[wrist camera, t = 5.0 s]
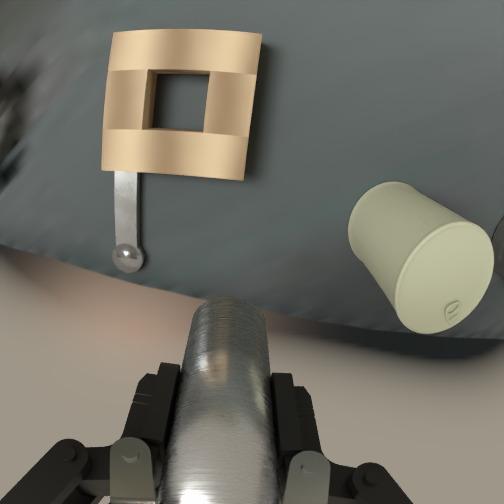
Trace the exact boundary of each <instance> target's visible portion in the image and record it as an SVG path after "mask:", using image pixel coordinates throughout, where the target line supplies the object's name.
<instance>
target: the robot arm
mask: <svg viewBox="0 0 504 504" xmlns="http://www.w3.org/2000/svg"><path fill="white" fill-rule="evenodd" d="M492 247H493V251H494V267H493V269H494V270H495V271H496V272H497V273H499V274H500V275H501V276H502V277H503V278H504V218H503V219H502V220H501V222H500V223H499V225H498V227H497V229H496V231H495V233H494V236H493V239H492ZM180 373H181V372H180V365H178V364H170V363H163V362H161V364H160V367H159V370H158V373H157V375H155V374H148V373H147V374H146V375H145V376H144V377H143V378H142V379H141V380H140V381H139V383H138V386H137V389H136V392H135V395H134V399H133V403H132V405H131V408H130V411H129V414H128V418H127V421H126V424H125V428H124V431H123V434H122V436H121V438H120V439H119V440H117V441H116V442H115V443H114V444H112V445H110V446H106V447H86V448H85V446H84V445H83V444H82V443H80V442H79V441H77V440H74V439H64V440H61V441H59V442H57V443H56V444H55V445H54V446H53V447H52V448H51V449H50V450H49V451H48V452H47V453H46V454H45V455H44V456H43V457H42V458H41V459H40V460H39V461H38V462H37V463H36V464H35V465H34V467H32V468H31V469H30V470H29V472H28V473H27V474H26V475H25V476H24V477H23V478H22V479H21V480H20V481H19V482H18V483H17V484H16V485H15V486H14V487H13V488H12V489H11V490H10V491H9V492H8V493H7V494H6V495H5V496H4V497H3V498H2V499H1V500H0V504H98V503H99V502H100V501H101V499H102V498H103V497H104V496H110V503H109V504H157V497H158V490H159V484H160V478H161V472H162V466H163V461H164V455H165V450H166V445H167V439H168V434H169V428H170V423H171V418H172V413H173V407H174V402H175V397H176V392H177V388H178V383H179V378H180ZM271 386H272V398H273V409H274V421H275V432H276V444H277V456H278V466H279V478H280V490H281V504H413V503H412V502H411V500H410V499H409V498H408V497H407V495H406V494H405V493H404V492H403V491H402V489H401V488H400V487H399V486H398V484H397V483H396V482H395V480H394V479H393V478H392V477H391V476H390V474H389V473H388V472H387V470H386V469H385V468H384V467H383V466H381V465H379V464H377V463H371V462H370V463H364V464H362V465H360V466H358V467H357V468H353V467H348V466H342V465H338V464H335V463H333V462H331V461H329V460H328V459H327V458H326V457H325V456H324V454H323V453H322V451H321V446H320V441H319V436H318V431H317V426H316V420H315V418H314V416H315V415H314V410H313V405H312V400H311V396H310V395H309V393H308V392H307V390H306V389H305V388H304V386H301V387H300V386H294V384H293V378H292V374H291V373H272V375H271Z"/></svg>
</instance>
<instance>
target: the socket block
mask: <svg viewBox="0 0 504 504" xmlns="http://www.w3.org/2000/svg"><path fill="white" fill-rule="evenodd" d="M261 40H262V34H257V33H247V32H237V31H223V30H203V29H157V30H137V31H124V32H114V35H113V40H112V47H111V53H110V60H109V68H108V76H107V85H106V95H105V106H104V120H103V139H102V170H104V171H128V172H146V173H162V174H176V175H189V176H200V177H211V178H222V179H231V180H241V181H243V179H244V171H245V162H246V154H247V146H248V138H249V130H250V122H251V114H252V106H253V99H254V91H255V84H256V76H257V69H258V61H259V54H260V47H261ZM158 74H196V75H210V78H209V86H208V94H207V103H206V112H205V121H204V130H203V131H201V130H186V129H167V128H152V125H153V113H154V103H155V93H156V84H157V76H158Z"/></svg>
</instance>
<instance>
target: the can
mask: <svg viewBox="0 0 504 504" xmlns="http://www.w3.org/2000/svg"><path fill="white" fill-rule="evenodd" d="M348 237H349V242H350V245H351V248H352V250H353V252H354V253H355V255H356V256H357V257H358V258H359V259H360V260H361V261H362V262H363V263H364V264H365V266H366V267H367V269H368V270H369V271H370V273H371V274H372V276H373V277H374V278H375V280H376V281H377V283H378V284H379V286H380V287H381V289H382V290H383V292H384V293H385V295H386V296H387V298H388V299H389V301H390V303H391V304H392V306H393V307H394V309H395V311H396V313H397V315H398V317H399V319H400V321H401V322H402V323H403V324H404V325H405V326H406V327H407V328H409V329H410V330H412V331H414V332H417V333H423V334H430V333H437V332H441V331H444V330H446V329H448V328H450V327H452V326H454V325H456V324H457V323H459V322H460V321H462V320H463V319H464V318H465V317H466V316H467V315H469V314H470V313H471V312H472V310H473V309H474V308H475V307H476V306H477V304H478V303H479V302H480V300H481V299H482V297H483V295H484V294H485V292H486V290H487V288H488V285H489V283H490V280H491V277H492V272H493V267H494V251H493V247H492V243H491V241H490V238H489V237H488V235H487V234H486V232H485V231H484V230H483V229H482V228H481V227H479V226H478V225H476V224H474V223H471V222H469V221H468V220H466V219H464V218H462V217H461V216H459V215H457V214H455V213H454V212H452V211H450V210H449V209H447V208H445V207H444V206H442V205H440V204H438V203H437V202H435V201H433V200H431V199H430V198H428V197H426V196H424V195H423V194H421V193H419V192H418V191H417V190H416V189H414V188H413V187H411V186H410V185H407V184H405V183H401V182H386V183H382V184H379V185H377V186H375V187H373V188H372V189H370V190H368V191H367V192H366V193H365V194H364V195H363V196H362V197H361V198H360V199H359V201H358V202H357V203H356V205H355V207H354V209H353V211H352V213H351V216H350V220H349V225H348Z"/></svg>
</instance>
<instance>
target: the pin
mask: <svg viewBox="0 0 504 504" xmlns="http://www.w3.org/2000/svg"><path fill="white" fill-rule="evenodd" d="M157 504H281V490H280V478H279V466H278V456H277V444H276V432H275V421H274V409H273V398H272V386H271V374H270V363H269V351H268V340H267V329H266V322H265V318H264V316H263V314H262V312H261V311H260V310H259V309H258V308H257V307H256V306H255V305H253V304H252V303H250V302H249V301H247V300H244V299H241V298H237V297H228V296H226V297H218V298H214V299H211V300H209V301H207V302H205V303H203V304H202V305H201V306H200V307H199V308H198V309H197V310H196V312H195V313H194V315H193V318H192V322H191V327H190V332H189V336H188V340H187V345H186V349H185V354H184V358H183V363H182V368H181V373H180V378H179V383H178V388H177V392H176V397H175V402H174V407H173V413H172V418H171V423H170V428H169V434H168V439H167V445H166V450H165V455H164V461H163V466H162V472H161V478H160V484H159V490H158V497H157Z"/></svg>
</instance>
